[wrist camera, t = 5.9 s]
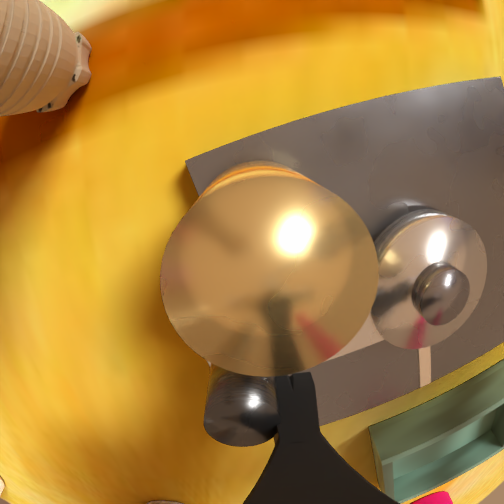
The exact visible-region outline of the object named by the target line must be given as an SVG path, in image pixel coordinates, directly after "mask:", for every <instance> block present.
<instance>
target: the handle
mask: <svg viewBox="0 0 504 504" xmlns="http://www.w3.org/2000/svg"><path fill="white" fill-rule="evenodd" d="M90 53H91V46H90V44H89V42H88V41H87V40H86V38H85V37H84V36H83V35H81V34H80V33H79V32H76V33H73V31H72V30H71V29H70V27H69V26H68V25H67V24H66V23H65V21H64V20H63V19H62V18H61V17H59V16H58V15H57V14H56V13H55V12H54V11H53V10H51V9H50V8H49V7H47V6H46V5H45V4H43V3H42V2H40V1H39V0H0V116H7V115H14V114H21V113H26V112H30V111H34V110H37V112H49V111H54V110H58V109H61V108H63V107H64V106H65V105H66V104H67V101H68V99H69V98H70V96H71V95H72V94H73V93H74V92H75V91H76V90H77V89H78V88H80V87H81V86H83V85H86V84H87V83H88V81H89V79H90V76H91V72H90V70H89V67H88V58H89V54H90Z"/></svg>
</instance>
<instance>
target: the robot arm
mask: <svg viewBox="0 0 504 504" xmlns="http://www.w3.org/2000/svg"><path fill="white" fill-rule="evenodd" d="M275 381H276V389H277V397H278V405H279V413H280V421H281V424H279V425H277V431H278V432H277V434H276V435H275V436H274V441H275V447H274V450H273V452H272V454H271V456H270V458H269V461H268V463H267V465H266V467H265V468H264V470H263V472H262V474H261V476H260V478H259V480H258V481H257V483H256V485H255V486H254V488H253V489H252V491H251V492H250V494H249V495H248V497H247V498H246V500H245V501H244V503H243V504H400V503H398V502H397V501H395V500H393V499H392V498H390V497H389V496H387V495H386V494H384V493H383V492H381V491H380V490H379V489H377V488H376V487H375V486H373V485H372V484H371V483H369V482H368V481H367V480H366V479H365V478H363V477H362V476H361V475H360V474H359V473H358V472H357V471H355V470H354V469H353V468H352V467H351V466H350V465H349V464H348V463H347V462H346V461H345V460H344V459H343V458H342V457H341V456H340V455H339V454H338V453H337V452H336V451H335V450H334V448H333V447H332V446H331V445H330V444H329V443H328V441H327V440H326V439H325V438H324V436H323V435H322V434H321V432H320V428H319V418H318V408H317V399H316V390H315V384H314V381H313V378H312V375H311V372H303V373H293V374H292V375H291V376H288V375H282V376H275Z"/></svg>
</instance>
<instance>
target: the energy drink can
mask: <svg viewBox="0 0 504 504" xmlns="http://www.w3.org/2000/svg"><path fill="white" fill-rule="evenodd" d="M147 504H183V503H178V502H172V501H151V502H149V503H147Z"/></svg>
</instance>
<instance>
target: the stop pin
mask: <svg viewBox="0 0 504 504" xmlns="http://www.w3.org/2000/svg"><path fill="white" fill-rule="evenodd" d="M378 280H379V266H378V258H377V252H376V249H375V246H374V242H373V239H372V237H371V235H370V233H369V231H368V229H367V227H366V225H365V224H364V222H363V221H362V219H361V218H360V216H359V215H358V214H357V213H356V212H355V211H354V210H353V208H352V207H351V206H350V205H349V204H347V203H346V202H345V201H344V200H343V199H341V198H340V197H339V196H337V195H336V194H334V193H333V192H331V191H329V190H328V189H326V188H324V187H323V186H321V185H319V184H317V183H316V182H314V181H312V180H310V179H309V178H307V177H305V176H303V175H302V174H300V173H298V172H296V171H294V170H293V169H291V168H289V167H287V166H285V165H282V164H280V163H276V162H272V161H265V160H253V161H247V162H243V163H239V164H237V165H234V166H232V167H230V168H228V169H227V170H225V171H223V172H222V173H221V174H220V175H218V176H217V177H216V178H215V179H214V180H213V181H212V182H211V184H210V185H209V186H208V187H207V188H206V190H205V191H204V192H203V193H202V194H201V196H200V197H199V198H198V199H197V201H196V202H195V203H194V204H193V206H192V207H191V208H190V209H189V211H188V212H187V213H186V214H185V216H184V217H183V218H182V219H181V221H180V222H179V224H178V225H177V227H176V228H175V230H174V231H173V233H172V235H171V237H170V239H169V241H168V244H167V246H166V249H165V252H164V255H163V259H162V265H161V272H160V288H161V294H162V300H163V304H164V307H165V310H166V313H167V315H168V317H169V320H170V322H171V324H172V325H173V327H174V329H175V330H176V332H177V333H178V335H179V336H180V337H181V338H182V340H183V341H184V342H185V343H186V344H187V345H188V346H189V347H190V348H191V349H192V350H193V351H194V352H196V353H197V354H198V355H200V356H201V357H203V358H204V359H205V360H207V361H209V362H211V363H212V364H214V365H216V366H218V367H221V368H223V369H226V370H228V371H232V372H235V373H239V374H244V375H250V376H261V377H270V376H282V375H288V374H293V373H297V372H300V371H304V370H306V369H309V368H312V367H314V366H316V365H318V364H320V363H322V362H324V361H326V360H327V359H329V358H330V357H332V356H334V355H335V354H336V353H338V352H339V351H340V350H341V349H343V348H344V347H345V346H346V345H347V344H348V343H349V342H350V341H351V340H352V339H353V338H354V337H355V335H356V334H357V333H358V331H359V330H360V329H361V327H362V326H363V324H364V323H365V321H366V319H367V317H368V316H369V313H370V311H371V309H372V306H373V304H374V300H375V297H376V293H377V287H378Z"/></svg>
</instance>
